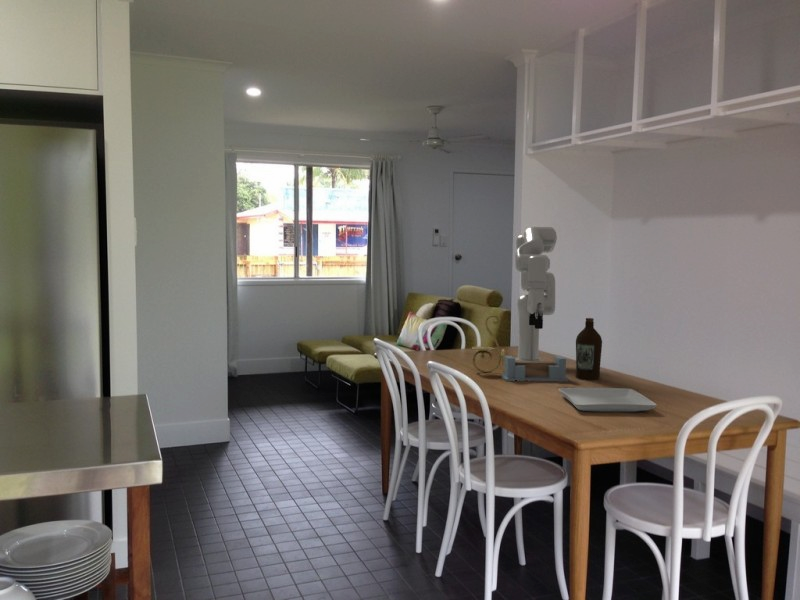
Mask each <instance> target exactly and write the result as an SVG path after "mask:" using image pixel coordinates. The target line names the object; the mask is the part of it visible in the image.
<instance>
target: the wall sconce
mask: <svg viewBox="0 0 800 600" xmlns="http://www.w3.org/2000/svg"><path fill="white" fill-rule="evenodd" d="M490 318H495V319H496V321H495V320H493V321H492V323H493V324H494V325H497V324H498V323H500V318H499V317H498V316H497V315H494V314H490V315H488V316H487V317H486V319H485V320H484V326H485V329H486V331H487V332H488V334H489V335H490V337H491V338H492V339H493V341H494V342H495V345H496V348H497V351H498V355H497V356H496V357H497V359H498V362H497V364H496V365H495V366H494V368H491V369H488V370H486V369H485V370H484V369H481V368H479V367H478V366H477V365H476V357H477V355H478V354H481V355H480V359H481V360H482V359H484V362H486V363H489V362H491V361H492V360H493V355H492V353H491V352H489V351H493V350H494V349H495V347H491V346H482V345H481V346H472V347H471V349H472V350H473V351H476V352H475V353H474V354H473V356H472V365H473V367H474V368H475V369H476V371H478V372H480V373H484V372H488V373H492V372H494V371H496V370H497V369H498V368H499V366H500V364H501V365H503V366H504V356H506V351H505V348H502V349H501V348H500V344H499V342H498V340H497V338H496V336H494V334H493V332H492V331H491V329H490V328H489V327H488V321H489V319H490ZM484 354H487V355H489V358H488V359H485V357H486V356H485V355H484Z"/></svg>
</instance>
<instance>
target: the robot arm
mask: <svg viewBox="0 0 800 600" xmlns="http://www.w3.org/2000/svg"><path fill="white" fill-rule="evenodd" d="M557 239H558V237H557V231H556V230H555V229H554V227H552V226H530V227H528V228H526V229H525V231H524V232H523V234H520V235H518V236H517V237H516V241H515V242H516V243H515V244H516V250H515V251H516V252H515V255H514V263H515V264H514V265H515V268H516V271H517V272H520V287H521V290H522V291H524V292H526V293H528V294H522V295H520V296H519V297H518V298H517V312H518V313H517V314H518V345H517V346H518V347H517V349H518V351H517V356H516V357H514V358H515V361H543V360H542V358H541V357H539V351H540V350H539V345H540V329H541V330H542V329H543V328H544V326H543V325H544V316H552V315H554V314H555V310H556V278H555V274H553V273H552V272H550V271H549V269H550V267H551V260H550V258H549V256H547V255H546V254H547V253H552V252H553V250H554V249H555V247H556V244H557V241H558V240H557ZM543 253H545V254H543ZM548 271H549V272H548Z"/></svg>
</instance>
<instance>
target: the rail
mask: <svg viewBox="0 0 800 600" xmlns="http://www.w3.org/2000/svg"><path fill="white" fill-rule="evenodd" d="M515 366H525V377H548V371H549V366H555V362H554V360H553V361H552V360H547V361H545V360H542V361H515Z"/></svg>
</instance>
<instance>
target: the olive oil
mask: <svg viewBox="0 0 800 600" xmlns="http://www.w3.org/2000/svg"><path fill="white" fill-rule="evenodd" d="M594 319H595V318H593V317H586V318H585V323H584V324H585V326H584V328H583V329H582V330H581V331H580V332H579V333H578V334H577V336H576V339H575V373H576V374H575V377H576V378H577V379H580V380H584V379H585V380H586V381H595V380H596V379H597V380H599V379H600V373H601V372H600V371H601V359H602V348H603V340H602V336H601V335H600V333H599V332H598V331H597V330H596V329H595V328H594V324H595V322H594Z"/></svg>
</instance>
